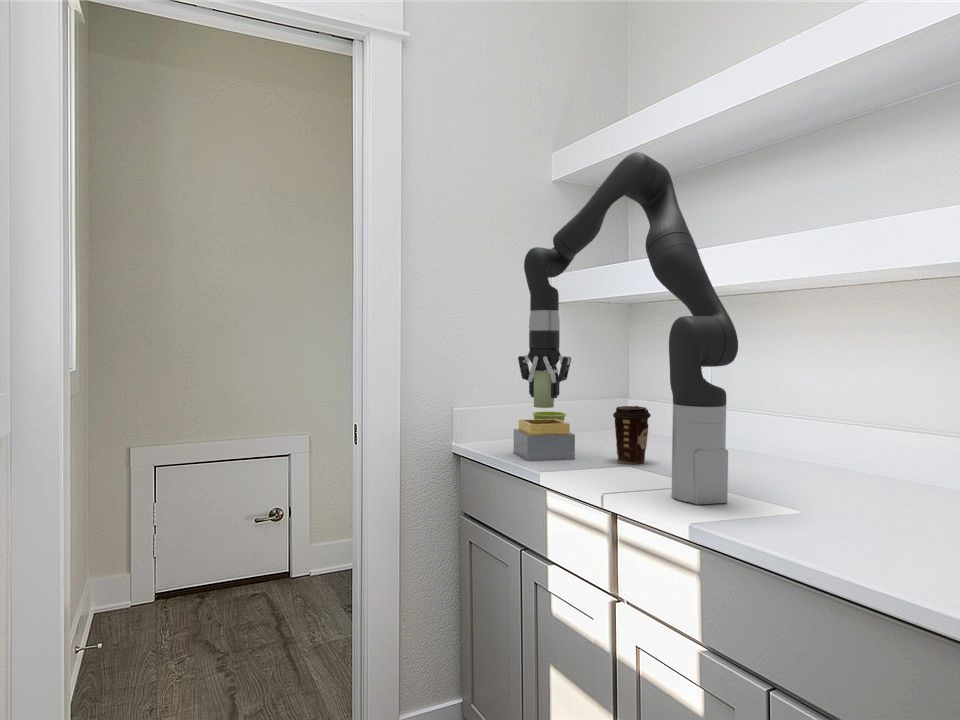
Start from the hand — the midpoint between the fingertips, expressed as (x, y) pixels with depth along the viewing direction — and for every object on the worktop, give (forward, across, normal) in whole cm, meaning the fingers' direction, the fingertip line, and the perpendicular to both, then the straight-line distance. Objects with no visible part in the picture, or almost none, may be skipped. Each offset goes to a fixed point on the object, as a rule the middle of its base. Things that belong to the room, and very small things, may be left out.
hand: (544, 397), depth 159 cm
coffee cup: (+15, -21, -4) cm, 26 cm away
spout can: (+2, 0, 0) cm, 2 cm away
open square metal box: (+15, 0, 0) cm, 15 cm away
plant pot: (+15, +6, -16) cm, 23 cm away
